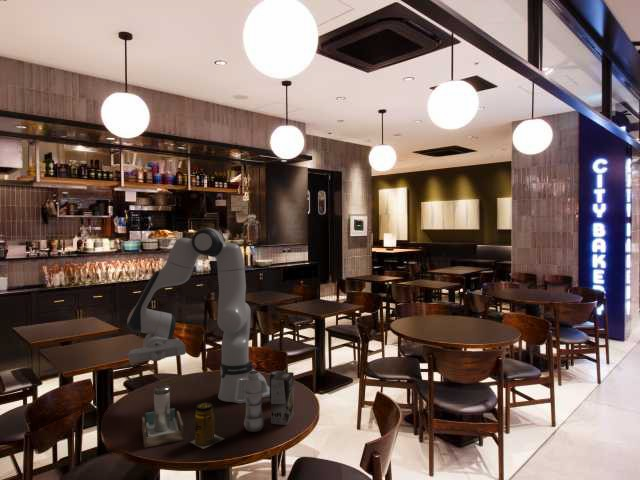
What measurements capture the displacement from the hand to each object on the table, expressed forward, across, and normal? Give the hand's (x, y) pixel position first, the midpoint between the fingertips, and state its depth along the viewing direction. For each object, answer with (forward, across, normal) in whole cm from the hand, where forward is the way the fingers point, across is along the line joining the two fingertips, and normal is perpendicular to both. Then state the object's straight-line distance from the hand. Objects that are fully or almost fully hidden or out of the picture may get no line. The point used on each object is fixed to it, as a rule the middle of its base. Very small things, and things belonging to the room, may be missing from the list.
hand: (159, 357), depth 160 cm
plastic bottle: (+23, +27, +25) cm, 44 cm away
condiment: (+24, +11, +24) cm, 36 cm away
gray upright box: (+4, +43, +25) cm, 50 cm away
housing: (+14, -2, +23) cm, 27 cm away
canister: (+13, -2, +21) cm, 25 cm away
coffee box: (+20, +39, +25) cm, 51 cm away
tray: (+14, -2, +23) cm, 27 cm away
